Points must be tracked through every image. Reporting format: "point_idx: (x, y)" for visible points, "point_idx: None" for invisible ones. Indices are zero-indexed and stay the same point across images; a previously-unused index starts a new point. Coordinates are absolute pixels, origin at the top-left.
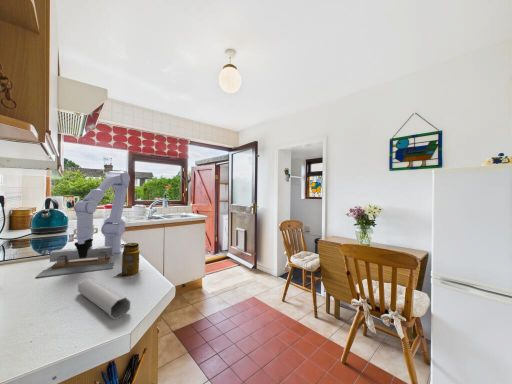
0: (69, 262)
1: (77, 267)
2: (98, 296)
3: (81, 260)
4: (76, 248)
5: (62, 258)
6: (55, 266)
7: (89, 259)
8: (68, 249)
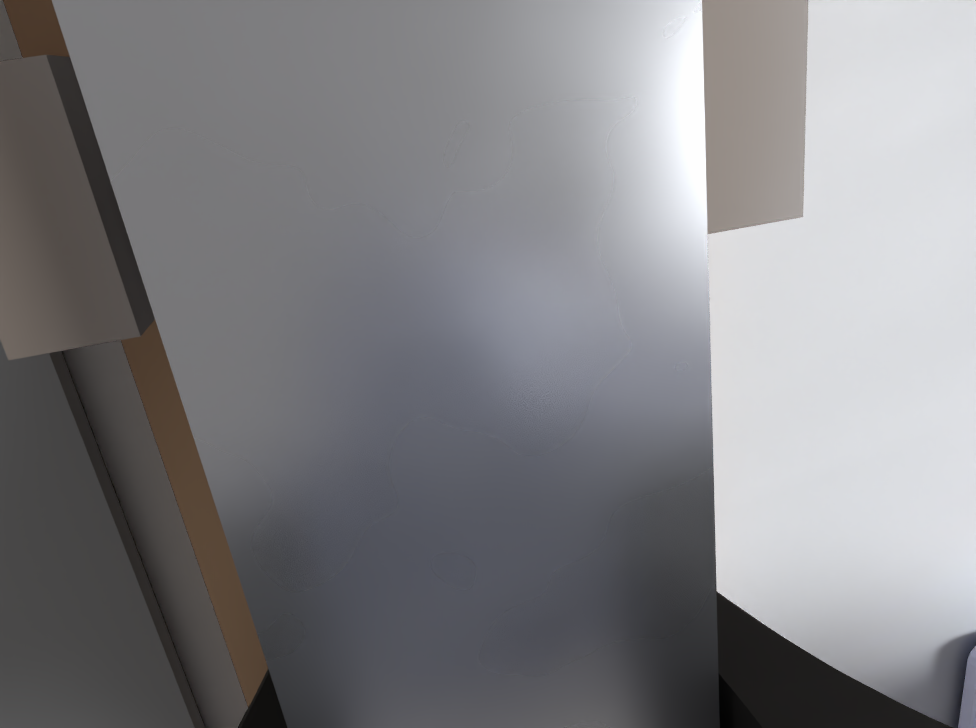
0: None
1: (22, 582)
2: None
3: None
4: (712, 586)
5: (3, 267)
6: (21, 51)
7: None
8: (610, 332)
